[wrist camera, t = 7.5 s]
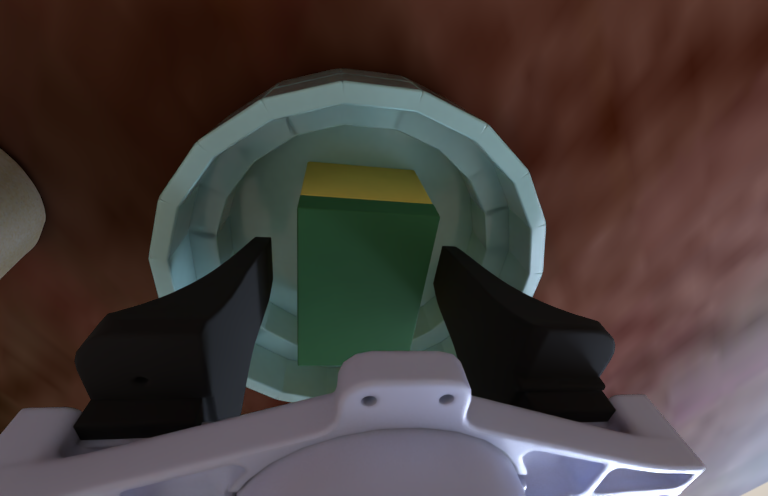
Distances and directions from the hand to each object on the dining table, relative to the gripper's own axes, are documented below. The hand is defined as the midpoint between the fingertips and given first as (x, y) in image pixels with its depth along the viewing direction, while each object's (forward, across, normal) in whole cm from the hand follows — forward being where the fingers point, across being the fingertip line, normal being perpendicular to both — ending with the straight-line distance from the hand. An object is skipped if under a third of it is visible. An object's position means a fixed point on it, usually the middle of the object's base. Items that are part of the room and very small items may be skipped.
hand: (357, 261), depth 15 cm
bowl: (+2, 0, 0) cm, 2 cm away
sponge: (+2, 0, 0) cm, 2 cm away
